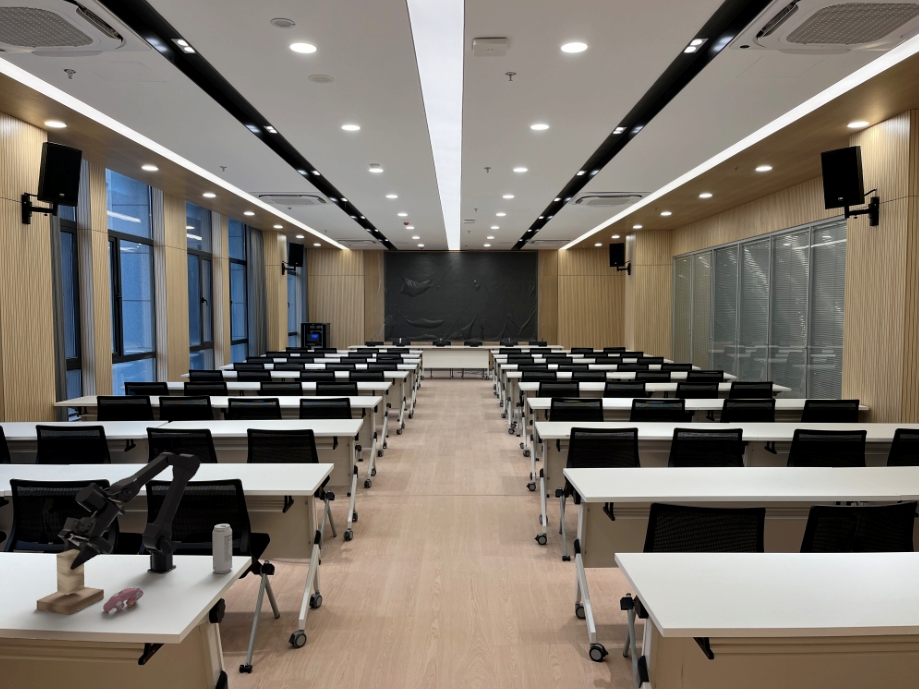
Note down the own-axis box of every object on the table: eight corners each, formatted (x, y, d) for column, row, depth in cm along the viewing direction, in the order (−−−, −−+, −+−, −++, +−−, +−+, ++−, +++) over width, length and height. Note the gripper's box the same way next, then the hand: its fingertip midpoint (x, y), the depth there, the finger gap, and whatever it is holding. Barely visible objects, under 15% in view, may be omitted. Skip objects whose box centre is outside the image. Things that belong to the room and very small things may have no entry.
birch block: (74, 585, 197) (73, 549, 197) (84, 588, 195) (83, 551, 195) (57, 591, 193) (56, 554, 193) (67, 594, 191) (66, 557, 190)
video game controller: (109, 620, 187) (115, 600, 185) (100, 609, 189) (106, 590, 187) (141, 607, 195) (147, 588, 193) (133, 597, 197) (139, 578, 195)
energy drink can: (219, 566, 224) (218, 522, 223) (235, 568, 222) (235, 523, 222) (209, 573, 218) (208, 527, 217) (226, 574, 216) (225, 529, 216)
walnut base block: (103, 597, 198) (103, 589, 198) (69, 614, 187) (69, 605, 187) (72, 593, 202) (72, 584, 202) (36, 609, 190) (36, 600, 190)
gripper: (63, 502, 201) (26, 549, 192) (102, 510, 192) (65, 559, 183) (89, 521, 208) (54, 567, 199) (127, 529, 200) (93, 578, 190)
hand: (65, 567), depth 193 cm, fingers closed on birch block, 5 cm apart
